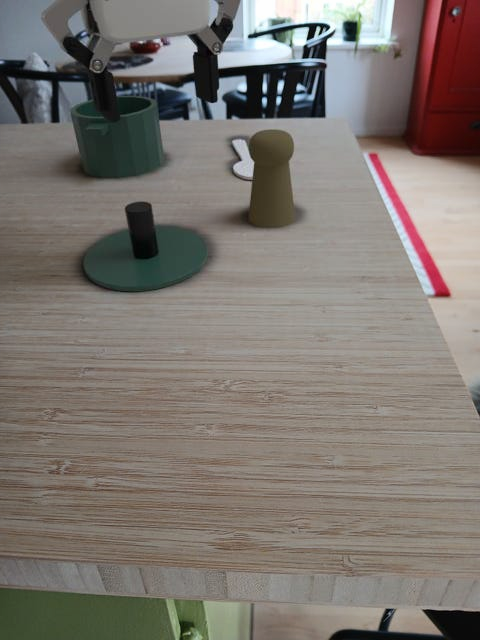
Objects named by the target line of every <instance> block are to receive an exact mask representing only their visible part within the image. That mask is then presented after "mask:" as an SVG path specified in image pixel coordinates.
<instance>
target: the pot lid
mask: <svg viewBox="0 0 480 640" xmlns="http://www.w3.org/2000/svg"><path fill="white" fill-rule="evenodd" d="M124 213H125V218H126V224H127V229H126V230H125V229H124V230H122V231H119V232H115V233H113V234H111V235H109V236H106V237H104V238H103V239H101V240H99V241H98V242H96V243H95V244H94V245H93V246H92V247H90V248H89V250H88V251H87V252H86V254H85V256H84V259H83V268H84V272H85V274H86V276H87V278H89V280H91V281H92V282H93V283H95V284H96V285H98V286H100V287H103V288H106V289H109V290H113V291H118V292H119V291H121V292H145V291H146V292H147V291H153V290H158V289H163V288H168V287H170V286H173V285H176V284H179V283H181V282H183V281H185V280H187V279H189V278H191V277H192V276H194V275H195V274H196V273H198V272H199V271H200V270H202V268H203V267H204V265H205V264H206V262H207V260H208V256H209V250H208V245H207V243H206V241H205V239H204V238H203V237H202V236H200V235H199V234H198V233H196V232H194V231H192V230H190V229H186V228H182V227H178V226H170V225H156V224H155V218H154V212H153V205H152V204H151V202H148V201H134V202H130V203H129V204H127V205H126V206H124Z"/></svg>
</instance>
